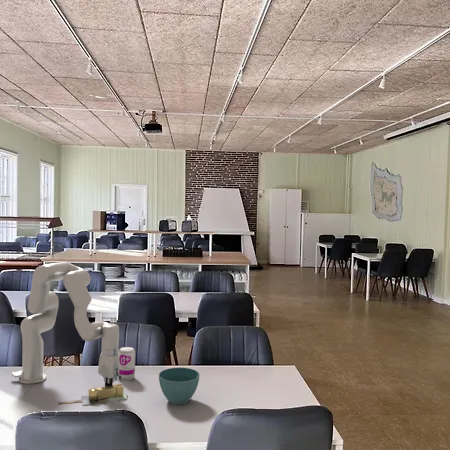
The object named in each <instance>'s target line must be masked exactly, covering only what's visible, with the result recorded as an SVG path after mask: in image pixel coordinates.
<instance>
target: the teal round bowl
mask: <svg viewBox="0 0 450 450" xmlns="http://www.w3.org/2000/svg"><path fill="white" fill-rule="evenodd" d="M158 380H159V381H158V382H159V387H160V389H161V393H162V394H163V395H164V397H165V398H166V400H167V401H168V402H169V403H170V404H173V405H176V404H180V405H184V403H185V404H187V403H188V402H189V401H190V400H191V399H192V397H193V396H194V395H195V393H196V390H197V388H198V386H199V382H200V372H199V371H198V370H195V369H193V368H190V367H189V368H188V367H170V368H165V369H164V370H161V371H160V372H159V373H158Z"/></svg>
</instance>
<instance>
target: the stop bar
mask: <svg viewBox="0 0 450 450" xmlns="http://www.w3.org/2000/svg"><path fill="white" fill-rule="evenodd" d="M124 388H125V387H124V385H123V384H122V383H115V384H113V385H112V386H106V387H105V386H99V387H90V388H89V389H88V395H89V397H88V399H89V400H91V401H95V400H98V399H102V398H108V397H113V396H123V394H124Z"/></svg>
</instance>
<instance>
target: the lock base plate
mask: <svg viewBox="0 0 450 450" xmlns="http://www.w3.org/2000/svg"><path fill="white" fill-rule="evenodd" d="M88 397H89V394H87V395H81V396H80V398H81V399H80V400H82V402H81V404H82V406H93V405H101V404H107V400H105V398H102V399H98V400H95V401H91V400H89V399H88Z"/></svg>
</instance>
